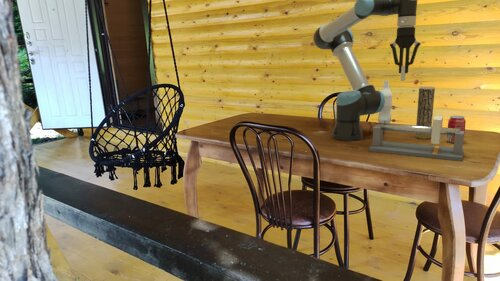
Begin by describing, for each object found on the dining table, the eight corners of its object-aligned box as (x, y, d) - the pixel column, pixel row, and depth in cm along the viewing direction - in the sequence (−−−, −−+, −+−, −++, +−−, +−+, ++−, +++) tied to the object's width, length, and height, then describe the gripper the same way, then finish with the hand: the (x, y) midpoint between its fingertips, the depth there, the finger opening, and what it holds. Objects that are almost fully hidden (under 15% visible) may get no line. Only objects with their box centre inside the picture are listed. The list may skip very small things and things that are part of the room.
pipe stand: (368, 151, 161) (369, 129, 158) (376, 143, 172) (377, 123, 170) (462, 161, 142) (464, 136, 140) (463, 152, 154) (465, 129, 151)
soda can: (449, 139, 174) (451, 114, 171) (465, 141, 170) (468, 116, 167) (444, 142, 170) (446, 117, 167) (460, 144, 165) (463, 118, 162)
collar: (430, 143, 149) (432, 119, 146) (433, 138, 156) (435, 115, 154) (438, 144, 147) (441, 120, 145) (440, 139, 155) (443, 116, 152)
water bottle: (389, 125, 209) (391, 82, 203) (376, 124, 213) (378, 81, 207) (391, 123, 215) (394, 80, 209) (379, 122, 219) (381, 80, 212)
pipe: (377, 130, 162) (377, 123, 161) (378, 129, 165) (379, 122, 164) (459, 137, 145) (459, 129, 145) (459, 135, 148) (460, 127, 147)
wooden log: (432, 139, 175) (436, 87, 169) (417, 139, 177) (421, 88, 171) (428, 136, 182) (432, 86, 176) (414, 136, 183) (417, 86, 177)
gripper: (389, 27, 160) (386, 81, 166) (421, 25, 154) (417, 81, 160) (392, 28, 167) (389, 79, 172) (423, 26, 160) (419, 79, 166)
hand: (402, 80), depth 166 cm, fingers closed
